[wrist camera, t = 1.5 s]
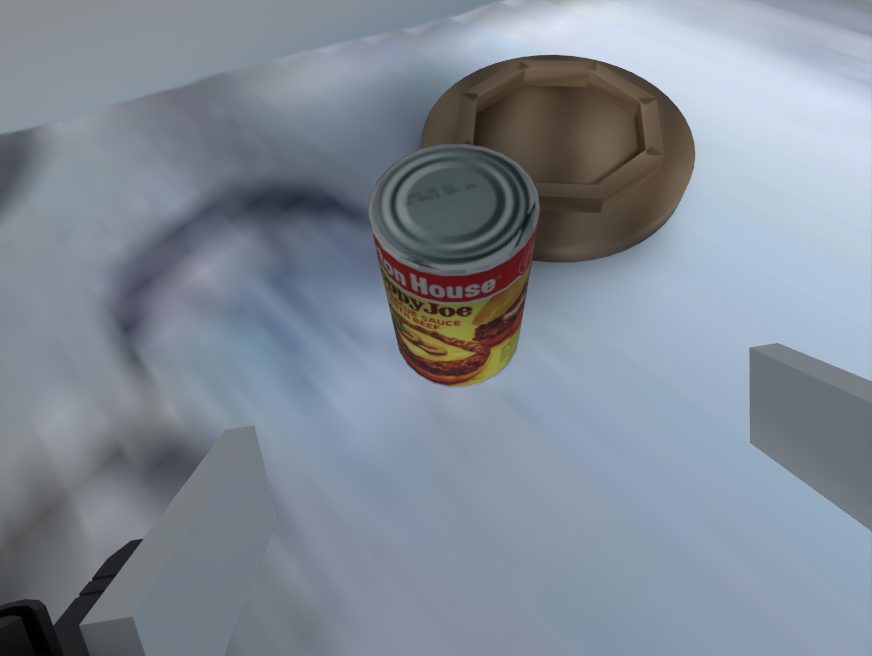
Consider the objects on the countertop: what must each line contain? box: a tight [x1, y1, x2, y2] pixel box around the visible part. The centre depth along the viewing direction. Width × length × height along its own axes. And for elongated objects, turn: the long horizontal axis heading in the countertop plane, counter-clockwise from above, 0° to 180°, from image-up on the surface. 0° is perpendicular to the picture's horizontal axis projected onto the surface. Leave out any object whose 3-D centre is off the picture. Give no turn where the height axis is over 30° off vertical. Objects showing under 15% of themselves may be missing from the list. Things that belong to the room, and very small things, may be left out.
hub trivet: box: [422, 55, 695, 262], centre depth 42 cm, size 20×20×3 cm
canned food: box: [368, 144, 540, 387], centre depth 31 cm, size 8×8×12 cm
